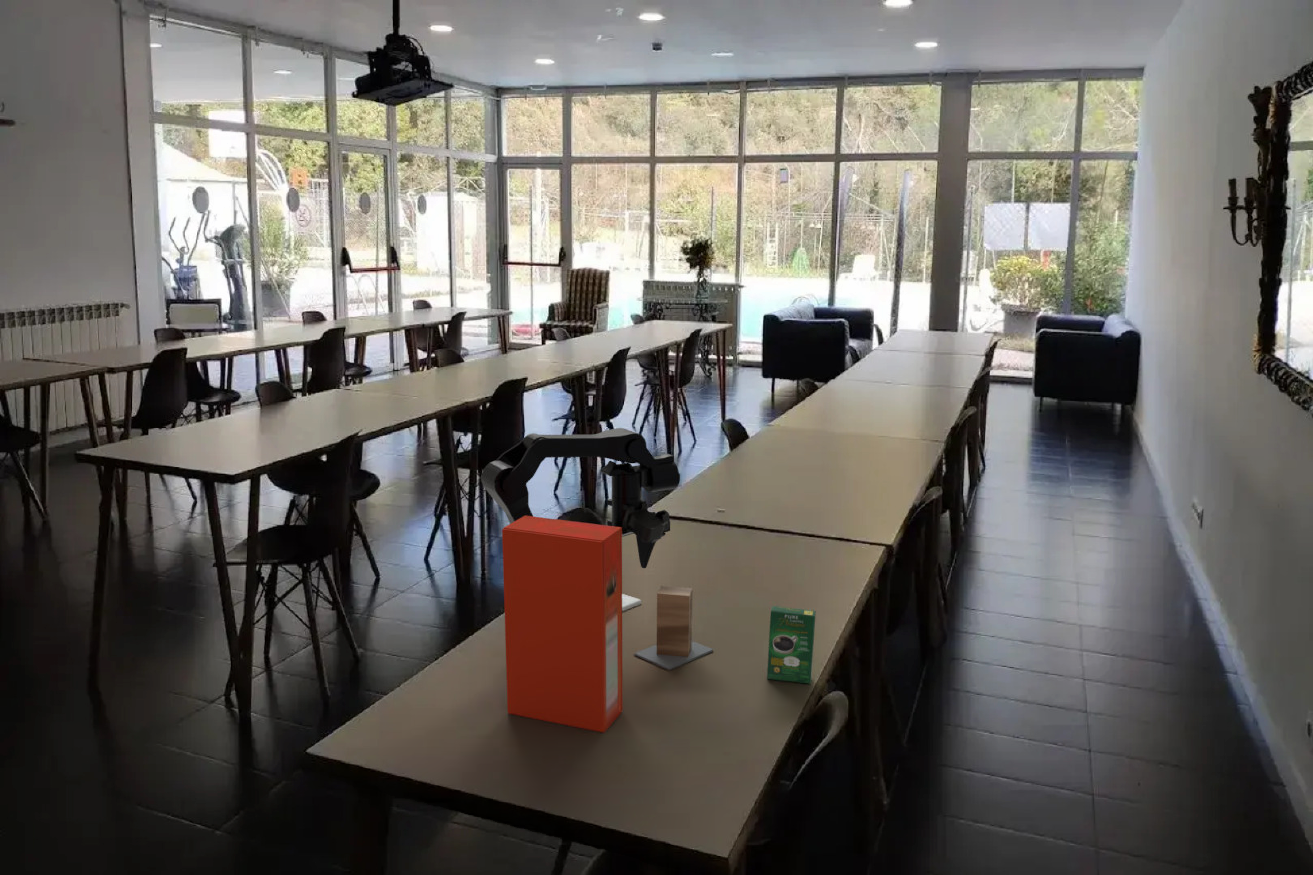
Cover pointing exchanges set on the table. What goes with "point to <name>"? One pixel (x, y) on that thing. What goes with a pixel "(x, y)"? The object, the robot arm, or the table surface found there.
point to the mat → (672, 661)
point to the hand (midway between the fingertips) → (626, 573)
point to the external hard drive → (629, 602)
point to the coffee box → (791, 644)
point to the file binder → (563, 621)
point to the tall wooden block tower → (674, 621)
